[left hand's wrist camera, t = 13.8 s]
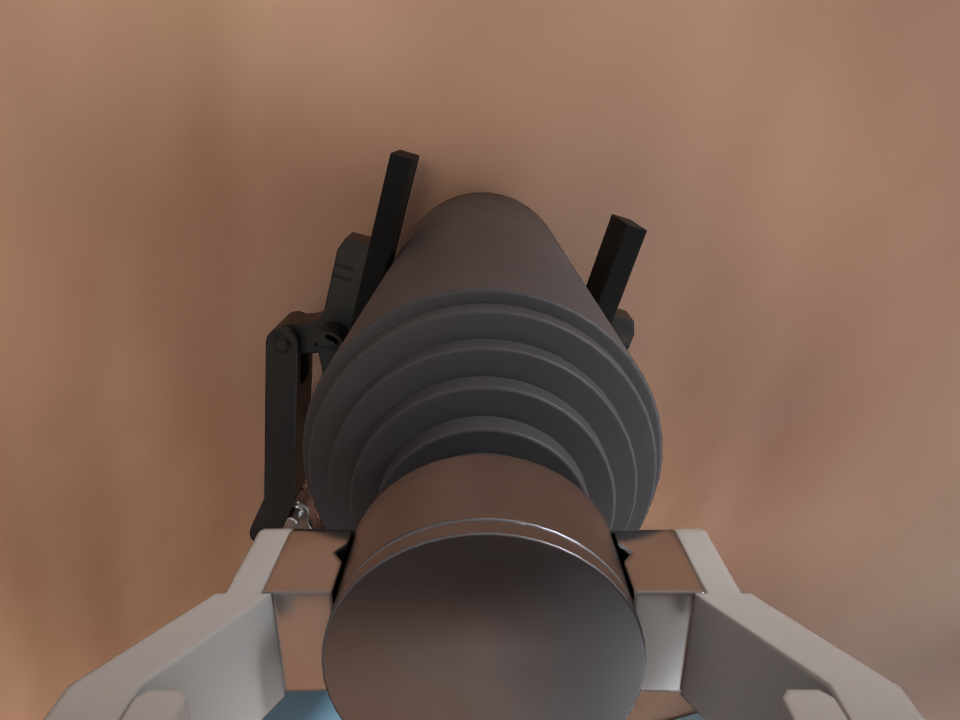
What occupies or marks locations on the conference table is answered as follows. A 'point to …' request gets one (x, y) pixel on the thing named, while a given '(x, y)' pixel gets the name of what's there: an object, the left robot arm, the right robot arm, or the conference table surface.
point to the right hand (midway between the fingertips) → (518, 189)
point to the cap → (483, 602)
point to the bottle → (482, 371)
